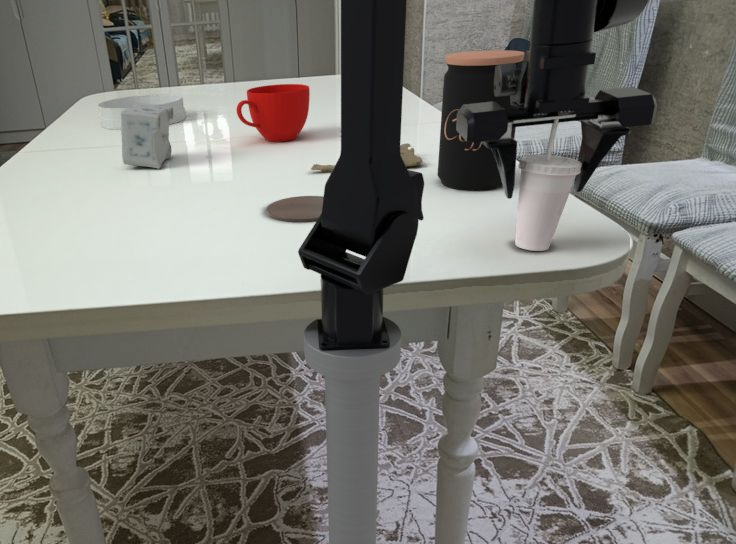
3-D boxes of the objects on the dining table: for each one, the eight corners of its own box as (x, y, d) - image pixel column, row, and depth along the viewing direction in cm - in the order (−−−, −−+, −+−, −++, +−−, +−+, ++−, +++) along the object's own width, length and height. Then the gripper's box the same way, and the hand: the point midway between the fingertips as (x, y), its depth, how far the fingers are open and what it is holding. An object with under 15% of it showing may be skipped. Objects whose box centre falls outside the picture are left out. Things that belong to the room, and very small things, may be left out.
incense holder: (165, 169, 118) (157, 110, 113) (123, 170, 119) (112, 112, 114) (180, 156, 126) (172, 101, 121) (140, 157, 128) (131, 103, 123)
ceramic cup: (223, 143, 135) (218, 93, 130) (285, 130, 143) (283, 82, 139) (259, 152, 126) (255, 98, 121) (323, 137, 134) (322, 86, 129)
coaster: (345, 219, 86) (345, 216, 86) (265, 223, 87) (264, 221, 87) (340, 196, 96) (340, 194, 96) (268, 200, 96) (267, 197, 96)
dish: (91, 121, 171) (87, 102, 168) (169, 110, 179) (166, 91, 177) (114, 133, 153) (110, 111, 151) (198, 120, 162) (196, 99, 159)
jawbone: (438, 166, 109) (439, 154, 108) (334, 188, 102) (334, 176, 101) (407, 152, 116) (408, 141, 115) (308, 172, 109) (308, 160, 108)
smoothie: (491, 240, 75) (515, 115, 68) (532, 234, 77) (559, 112, 71) (531, 258, 70) (561, 124, 63) (574, 250, 72) (607, 121, 66)
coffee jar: (428, 188, 96) (436, 59, 87) (446, 171, 104) (455, 50, 95) (501, 194, 92) (517, 57, 83) (515, 175, 100) (530, 49, 91)
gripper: (622, 22, 69) (599, 165, 77) (448, 42, 71) (443, 181, 79) (675, 33, 60) (642, 195, 68) (472, 55, 61) (464, 211, 69)
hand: (543, 194), depth 71 cm, fingers closed on smoothie, 7 cm apart
